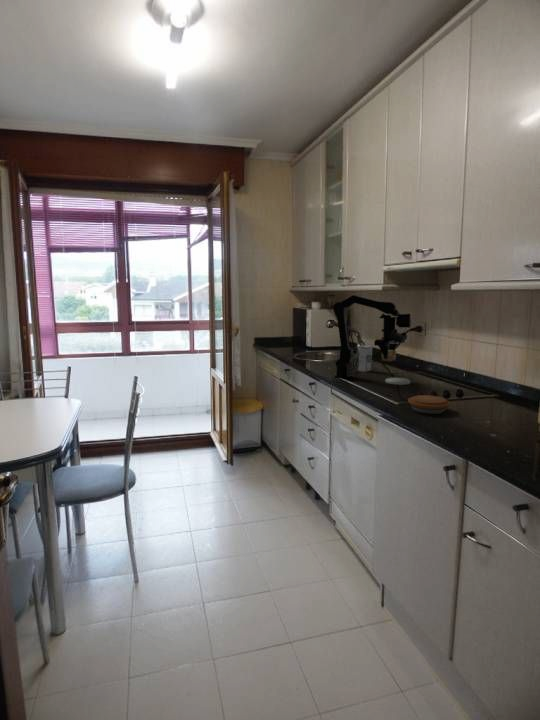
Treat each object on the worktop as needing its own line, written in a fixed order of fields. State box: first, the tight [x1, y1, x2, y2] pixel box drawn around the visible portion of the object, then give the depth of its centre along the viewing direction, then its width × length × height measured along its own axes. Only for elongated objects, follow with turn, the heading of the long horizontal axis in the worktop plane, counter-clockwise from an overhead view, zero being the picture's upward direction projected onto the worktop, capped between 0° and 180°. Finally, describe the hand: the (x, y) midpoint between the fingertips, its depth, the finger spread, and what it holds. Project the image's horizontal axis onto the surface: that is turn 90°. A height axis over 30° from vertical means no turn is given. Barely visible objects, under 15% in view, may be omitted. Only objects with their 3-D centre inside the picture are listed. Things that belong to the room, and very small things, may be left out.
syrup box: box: [357, 344, 373, 373], centre depth 255 cm, size 6×6×14 cm
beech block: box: [381, 349, 397, 362], centre depth 227 cm, size 5×5×5 cm
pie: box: [407, 394, 451, 415], centre depth 172 cm, size 15×16×5 cm
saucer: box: [384, 377, 411, 386], centre depth 224 cm, size 12×12×1 cm
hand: (388, 358), depth 227 cm, fingers closed on beech block, 5 cm apart
